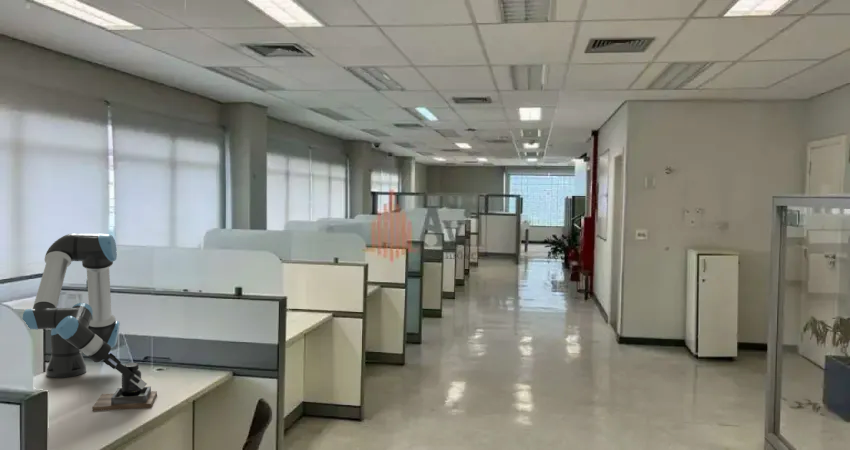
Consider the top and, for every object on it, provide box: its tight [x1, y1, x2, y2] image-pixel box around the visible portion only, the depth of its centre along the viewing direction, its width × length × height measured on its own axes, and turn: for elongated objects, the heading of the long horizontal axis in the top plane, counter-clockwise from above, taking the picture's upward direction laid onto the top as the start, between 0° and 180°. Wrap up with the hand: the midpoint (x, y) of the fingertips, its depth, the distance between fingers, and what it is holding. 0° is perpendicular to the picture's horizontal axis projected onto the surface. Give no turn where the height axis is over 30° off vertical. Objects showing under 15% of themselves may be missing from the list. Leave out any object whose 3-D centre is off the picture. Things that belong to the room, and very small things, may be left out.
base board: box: [91, 386, 158, 412], centre depth 239 cm, size 15×20×4 cm
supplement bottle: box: [121, 362, 142, 397], centre depth 239 cm, size 7×7×12 cm
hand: (141, 383), depth 241 cm, fingers closed on supplement bottle, 7 cm apart
